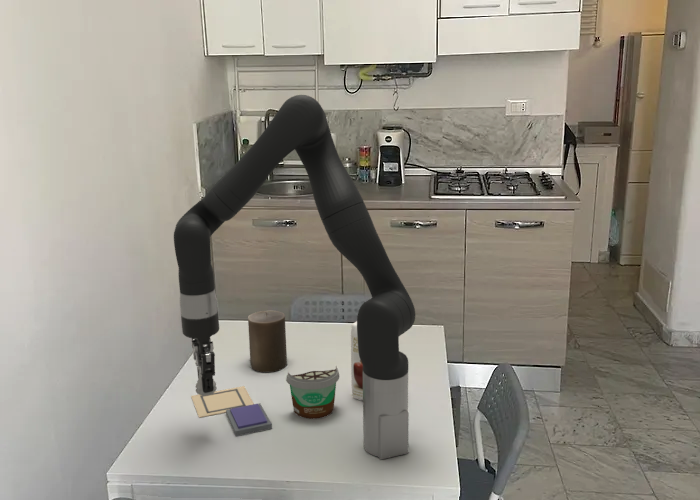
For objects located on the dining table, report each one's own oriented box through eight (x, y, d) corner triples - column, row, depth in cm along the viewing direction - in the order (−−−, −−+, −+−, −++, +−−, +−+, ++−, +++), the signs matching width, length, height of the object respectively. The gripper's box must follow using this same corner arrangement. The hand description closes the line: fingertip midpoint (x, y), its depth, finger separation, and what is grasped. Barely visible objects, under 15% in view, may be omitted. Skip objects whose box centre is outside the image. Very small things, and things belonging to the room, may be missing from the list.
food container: (292, 425, 151) (290, 384, 148) (287, 412, 157) (285, 372, 154) (346, 417, 154) (345, 376, 152) (339, 404, 160) (338, 365, 157)
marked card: (255, 406, 159) (255, 405, 159) (199, 417, 155) (199, 416, 155) (244, 386, 169) (244, 385, 169) (191, 396, 165) (191, 395, 165)
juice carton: (363, 385, 169) (363, 313, 164) (394, 393, 165) (395, 320, 159) (348, 398, 163) (347, 324, 158) (379, 407, 158) (379, 331, 153)
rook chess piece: (219, 386, 148) (216, 352, 146) (213, 396, 143) (210, 361, 141) (199, 386, 148) (196, 352, 146) (192, 396, 144) (189, 360, 142)
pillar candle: (285, 372, 177) (283, 317, 173) (247, 372, 177) (244, 318, 173) (288, 357, 186) (286, 305, 182) (252, 357, 186) (250, 305, 182)
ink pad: (272, 428, 150) (271, 421, 149) (236, 436, 147) (235, 429, 147) (260, 407, 159) (260, 401, 158) (226, 414, 156) (225, 408, 156)
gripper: (224, 319, 136) (230, 397, 140) (210, 298, 149) (216, 370, 153) (186, 325, 133) (194, 405, 138) (175, 303, 146) (182, 376, 151)
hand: (205, 386), depth 145 cm, fingers closed on rook chess piece, 4 cm apart
